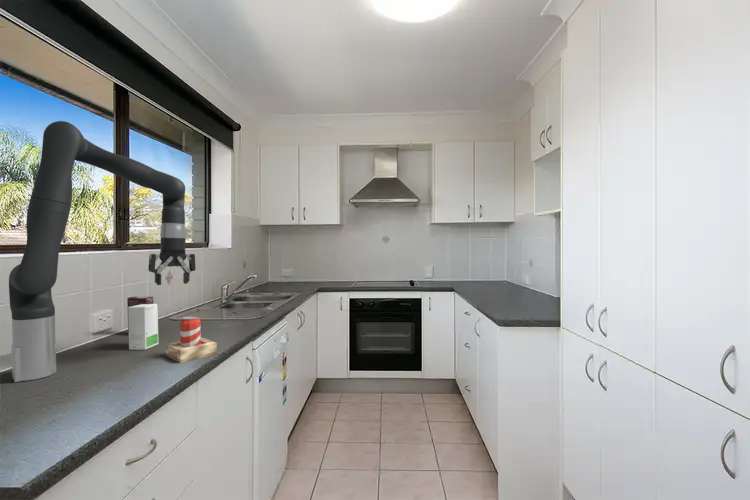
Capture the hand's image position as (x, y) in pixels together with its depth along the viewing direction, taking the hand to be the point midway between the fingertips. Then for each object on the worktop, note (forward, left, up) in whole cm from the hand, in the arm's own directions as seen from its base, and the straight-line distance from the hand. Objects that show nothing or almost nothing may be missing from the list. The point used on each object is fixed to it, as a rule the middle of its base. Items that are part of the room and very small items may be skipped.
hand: (172, 284), depth 127 cm
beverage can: (+4, -5, -24) cm, 24 cm away
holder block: (+4, -5, -24) cm, 25 cm away
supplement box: (+3, +41, -25) cm, 48 cm away
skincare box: (-3, +19, -25) cm, 31 cm away
